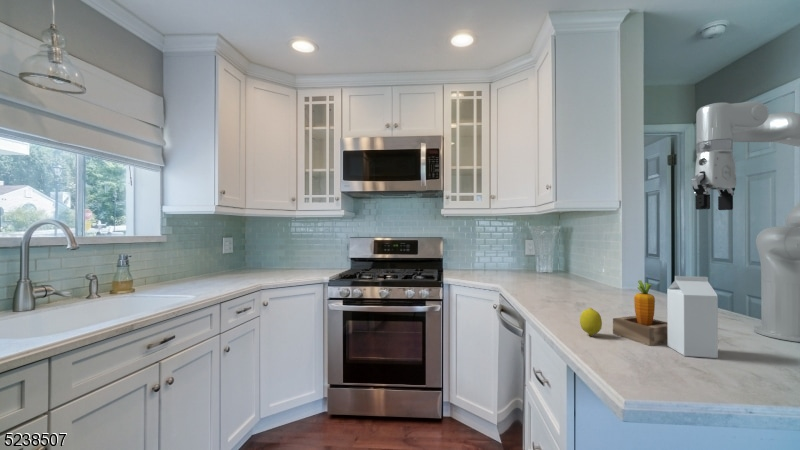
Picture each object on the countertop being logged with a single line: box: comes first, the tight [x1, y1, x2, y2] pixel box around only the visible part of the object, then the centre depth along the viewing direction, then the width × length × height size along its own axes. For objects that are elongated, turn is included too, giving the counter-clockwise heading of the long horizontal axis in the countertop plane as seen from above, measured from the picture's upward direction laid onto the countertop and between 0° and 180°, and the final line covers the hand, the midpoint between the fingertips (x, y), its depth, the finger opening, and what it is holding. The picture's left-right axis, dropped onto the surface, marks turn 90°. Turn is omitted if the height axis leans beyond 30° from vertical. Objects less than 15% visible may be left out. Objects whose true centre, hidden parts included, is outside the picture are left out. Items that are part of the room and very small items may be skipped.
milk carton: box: [666, 275, 719, 359], centre depth 85 cm, size 7×7×19 cm
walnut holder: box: [612, 315, 668, 347], centre depth 97 cm, size 11×11×4 cm
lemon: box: [579, 307, 603, 337], centre depth 98 cm, size 6×6×8 cm
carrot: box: [633, 280, 656, 326], centre depth 97 cm, size 5×5×15 cm
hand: (714, 209), depth 96 cm, fingers open, 9 cm apart
